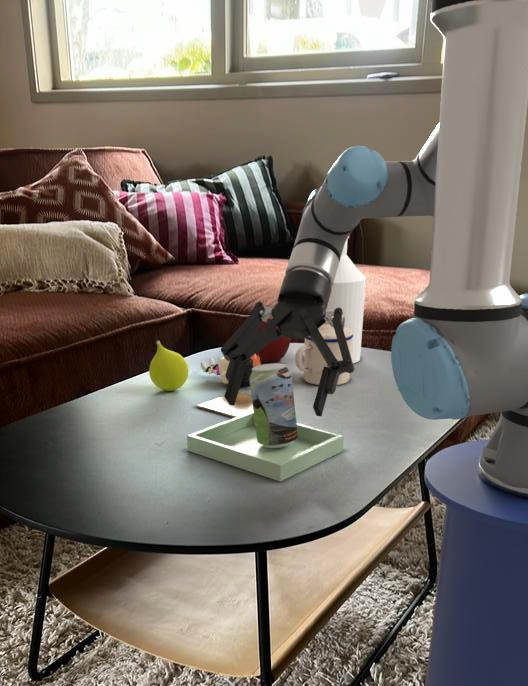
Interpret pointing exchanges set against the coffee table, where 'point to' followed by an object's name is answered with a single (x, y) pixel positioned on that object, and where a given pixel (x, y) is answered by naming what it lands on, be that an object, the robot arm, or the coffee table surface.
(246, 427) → the tray
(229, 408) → the coaster
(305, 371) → the teacup with lid
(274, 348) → the apple
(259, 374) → the beverage can
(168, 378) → the ornament
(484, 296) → the robot arm
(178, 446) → the coffee table surface
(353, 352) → the bottle
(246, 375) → the figurine
